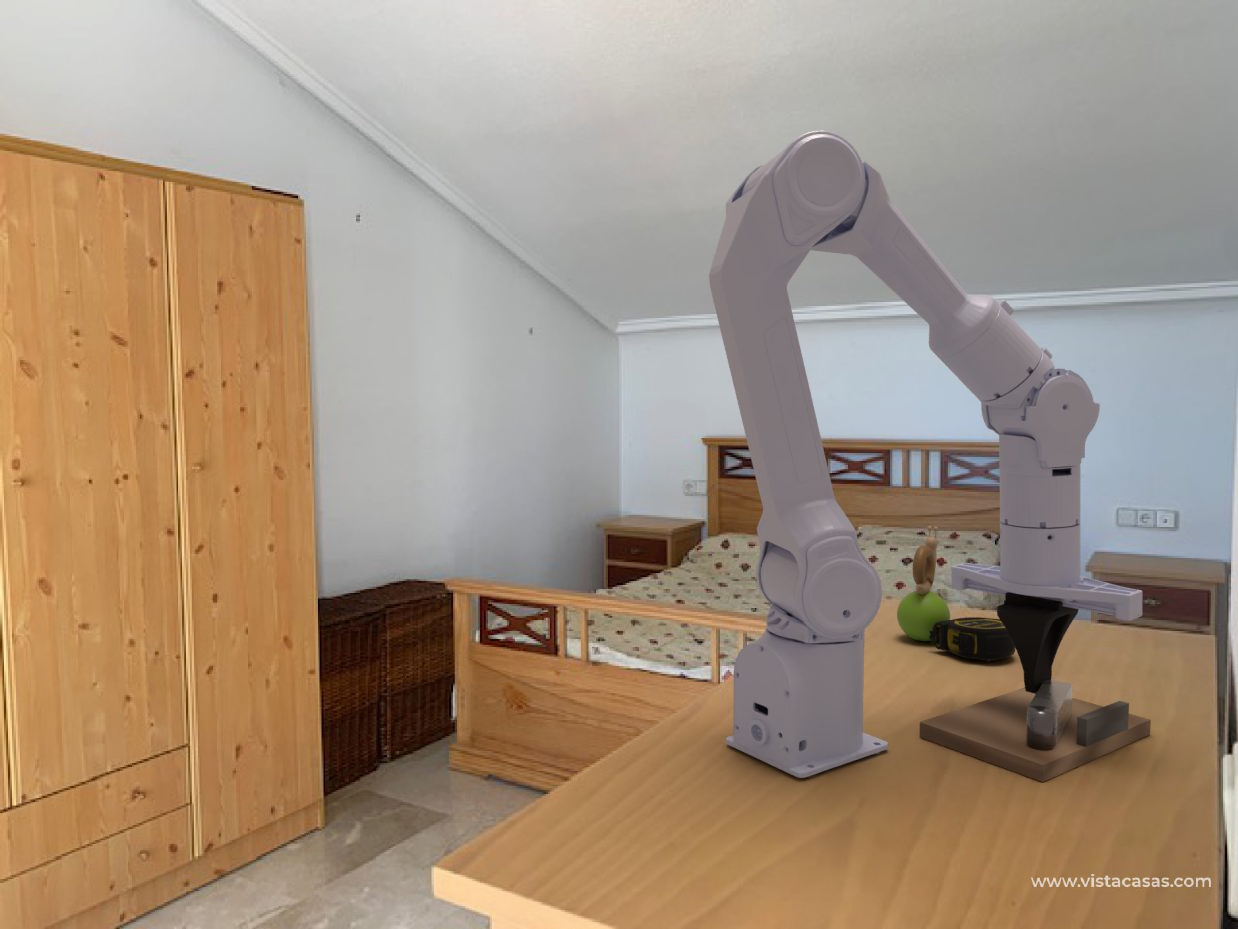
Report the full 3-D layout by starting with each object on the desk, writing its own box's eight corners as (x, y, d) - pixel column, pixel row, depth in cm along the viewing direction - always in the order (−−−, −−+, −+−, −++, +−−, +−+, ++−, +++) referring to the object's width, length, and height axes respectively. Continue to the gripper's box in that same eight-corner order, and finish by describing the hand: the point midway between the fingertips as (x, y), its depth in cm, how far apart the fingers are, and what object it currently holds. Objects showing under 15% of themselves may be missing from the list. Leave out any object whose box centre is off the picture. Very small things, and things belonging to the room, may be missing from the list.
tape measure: (978, 645, 96) (979, 611, 96) (1031, 662, 90) (1032, 625, 89) (928, 653, 93) (929, 617, 93) (978, 671, 87) (979, 633, 87)
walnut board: (1042, 782, 61) (1044, 736, 61) (919, 737, 70) (920, 696, 69) (1150, 734, 70) (1151, 694, 70) (1028, 699, 78) (1030, 663, 78)
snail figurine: (956, 636, 99) (959, 527, 98) (943, 650, 93) (945, 535, 93) (906, 629, 102) (908, 524, 101) (890, 642, 96) (892, 531, 95)
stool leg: (1053, 752, 63) (1054, 716, 63) (1022, 746, 64) (1023, 711, 64) (1071, 713, 71) (1072, 681, 71) (1044, 708, 72) (1045, 676, 72)
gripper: (1162, 524, 67) (1160, 701, 68) (984, 507, 79) (985, 658, 80) (1115, 539, 63) (1115, 727, 64) (935, 518, 74) (937, 677, 76)
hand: (1040, 690), depth 72 cm, fingers closed, pressing on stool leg
